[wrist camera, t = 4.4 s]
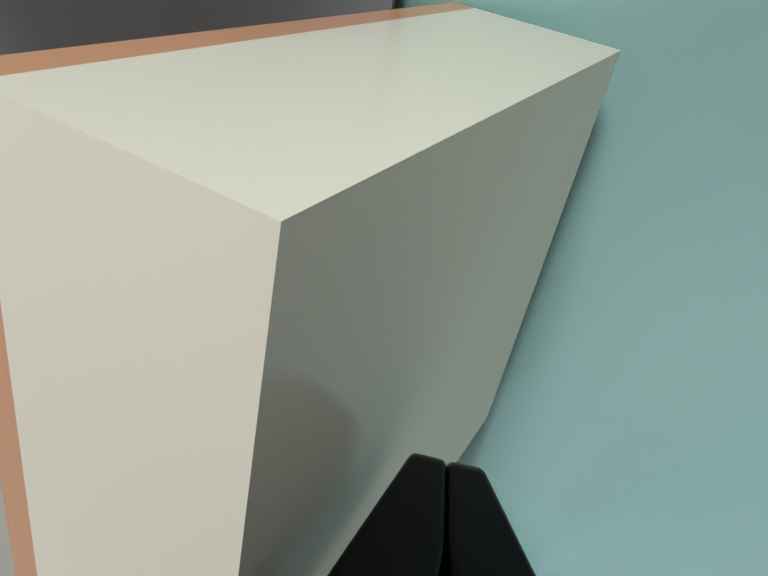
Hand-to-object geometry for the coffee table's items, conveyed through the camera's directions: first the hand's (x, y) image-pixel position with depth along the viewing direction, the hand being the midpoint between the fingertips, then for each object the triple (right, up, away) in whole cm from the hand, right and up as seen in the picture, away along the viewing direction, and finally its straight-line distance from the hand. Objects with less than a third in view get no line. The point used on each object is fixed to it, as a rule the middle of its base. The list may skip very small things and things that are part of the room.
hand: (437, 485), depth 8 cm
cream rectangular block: (+1, +3, +6) cm, 7 cm away
